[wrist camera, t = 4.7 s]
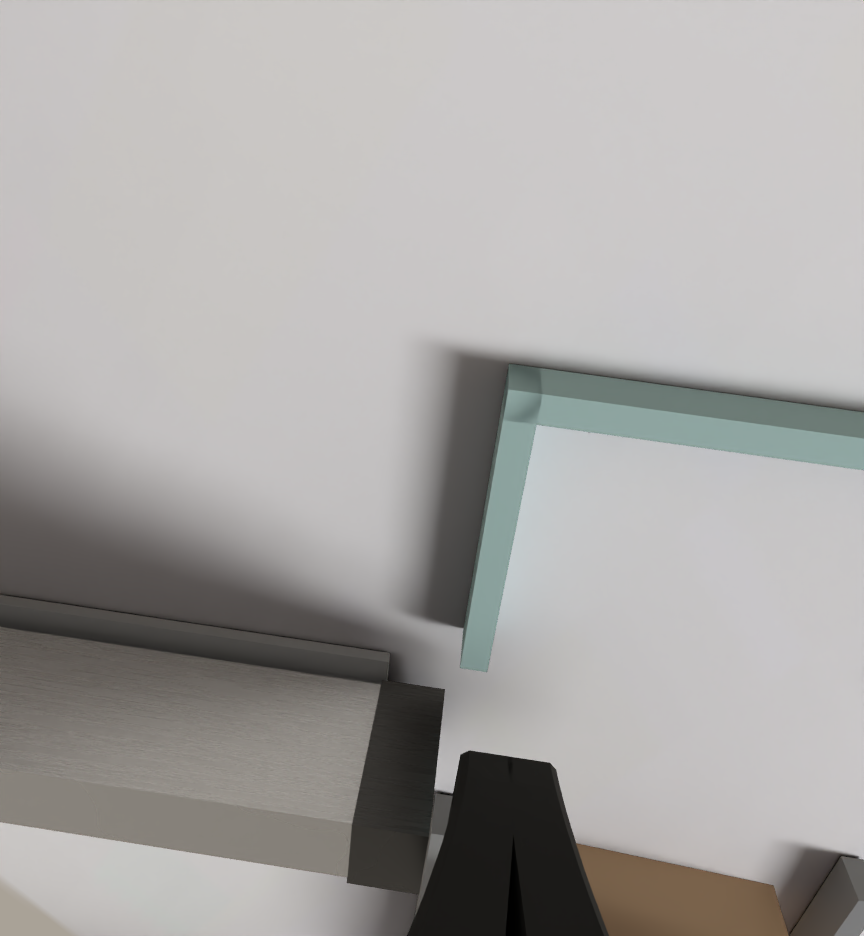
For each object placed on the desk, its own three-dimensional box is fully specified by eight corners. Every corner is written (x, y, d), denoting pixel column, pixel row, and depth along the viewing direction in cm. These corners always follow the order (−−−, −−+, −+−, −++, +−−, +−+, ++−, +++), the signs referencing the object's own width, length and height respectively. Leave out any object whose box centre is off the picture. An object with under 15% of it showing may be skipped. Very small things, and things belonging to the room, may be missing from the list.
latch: (435, 744, 12) (418, 894, 10) (-90, 664, 13) (-216, 792, 10) (444, 689, 12) (428, 837, 9) (-111, 605, 12) (-249, 731, 10)
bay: (967, 705, 11) (997, 748, 11) (463, 630, 12) (459, 668, 11) (1140, 450, 9) (1192, 483, 8) (508, 363, 9) (508, 389, 9)
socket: (734, 1049, 17) (744, 1090, 16) (-19, 925, 18) (-40, 961, 17) (946, 736, 12) (974, 780, 11) (-148, 572, 12) (-188, 603, 12)
